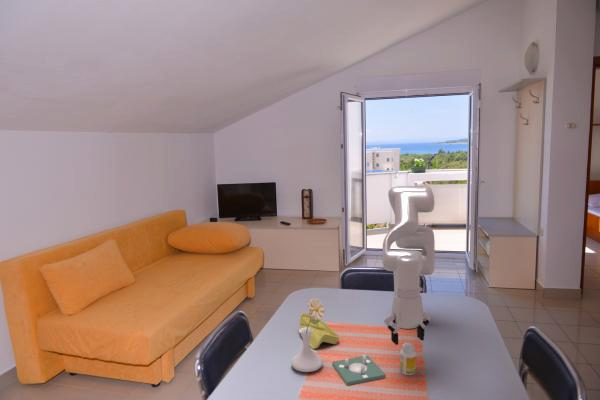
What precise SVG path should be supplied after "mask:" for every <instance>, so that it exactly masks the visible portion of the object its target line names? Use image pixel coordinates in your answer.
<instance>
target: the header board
mask: <svg viewBox="0 0 600 400" xmlns="http://www.w3.org/2000/svg"><path fill="white" fill-rule="evenodd" d="M331 365H332V366H333V368H334V370H335V371H336V372H337V373H338V375H339V377H340V378H341V379H342V380H343V382H344V384H346V386H351V385H352V386H353V385H357V384H361V383H362V384H363V383H367V382H373V381H376V380H377V381H378V380H381V379H386V378H387V377H386V373H385V372H384V371H383V370H382V369H381V368H380V366H378V365H377V363H376V362H375V361H374V360H373V359H372V358H371V357H370V356H369V355H368V354H367V355H366V354H362V355H361V356H355V357H351V358H348V357H346V358H345V359H340V360H336V361H332V362H331Z"/></svg>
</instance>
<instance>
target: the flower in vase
mask: <svg viewBox="0 0 600 400" xmlns="http://www.w3.org/2000/svg"><path fill="white" fill-rule="evenodd" d="M307 310H308V314H309V315H311V318H312V319H311V318H310V321H311V322H312V323H313V324H317V323H318V322H319V321H320V320H321V321H322V318H324V317H325V314H326V313H325V310H326V309H325V306H324V305H323V303H322V301H320V299H318V298H316V297H315V298H311V299H310V300H309V302H308V303H307ZM310 321H309V324H310ZM309 324H308V325H306V324H302V323H301V325H304V326H307V327H305V328H301V329H300V328H299V330H298V332H299V333H300V335H302V336H301V338H302V343H303V349H302V350H301V351H300V352H298V353H297V354H296V355H295V356H294V357H293V358H292V360H291V362H290V363H291V367H292V368H293V369H295V370H296V371H298V372H303V373H310V372H315V371H318V370H319V369H320V368H322V367H323V365H324V360H323V358H322V357H321V355H319V354H318V353H316V352H315V351H313V350H312V348H311V347H310V336H311V333H312V332H313V329H312V328H308V327H309Z"/></svg>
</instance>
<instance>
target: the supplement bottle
mask: <svg viewBox="0 0 600 400" xmlns="http://www.w3.org/2000/svg"><path fill="white" fill-rule="evenodd" d="M416 368H417V353H416V350H415V345H414V344H412V343H411V342H405V343H402V344H401V349H400V351H399V371H400V373H401V374H403V375H405V376H413V375H415V374H416V372H417V371H416V370H417V369H416Z"/></svg>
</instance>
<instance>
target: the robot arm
mask: <svg viewBox="0 0 600 400" xmlns="http://www.w3.org/2000/svg"><path fill="white" fill-rule="evenodd" d="M387 194H388V200H389V204H390V206H391V209H392V211H393V214H394V215H393V216H394V226H393V227H392V228H391V229H389V231H388V233H387V234H386V235H385V237H384V239H383V242H382V256H381V257H382V258H381V259H382V261H381V262H382V267H383V268H384V270H385V271H388V272H393V273H392V274H393V287H394V288H393V295H394V296H393V299H392V304H391V305H392V306H391V315H390V316H388V317H387V318H385V319H384V321H383V324H385V326H386V328H387V329H388V330H389V331H391V332H390V334H391V335H390V337H391V342H392V343H394V345H395V346H397V345H398V346H399V333H398V332H399V330H400V329H402V330H411V329H416V334H417V335H416V338H418V339H419V340H421V341H423V342H424V340H425V329H427V327H428V325H429V323H430V320H431V318H432V314H431V313H429V312H427V311H424V304H423V300H422V296H421V294H420V293H421V292H423V287H421V286H420V282H421V281H420V278H421V277H420V276H430V275H433V274H434V272H435V266H436V265H435V263H436V259H435V258H436V256H435V249H436V248H435V234H434V230H433V229H432V228H431V227H430V226H420V225H419V213H432V212H433V210H434V208H435V196H434V193H433V190H432V188H431V187H430V186H427V185H425V186H424V185H416V186H415V185H414V186H413V185H410V186H409V185H401V186H400V185H399V186H393V187H391V188H390V189H389V190H388V193H387ZM393 243H395V245H396V246H397V248H399V249H391V246H392V244H393ZM419 250H422V251H423V252H422V251H419Z"/></svg>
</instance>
